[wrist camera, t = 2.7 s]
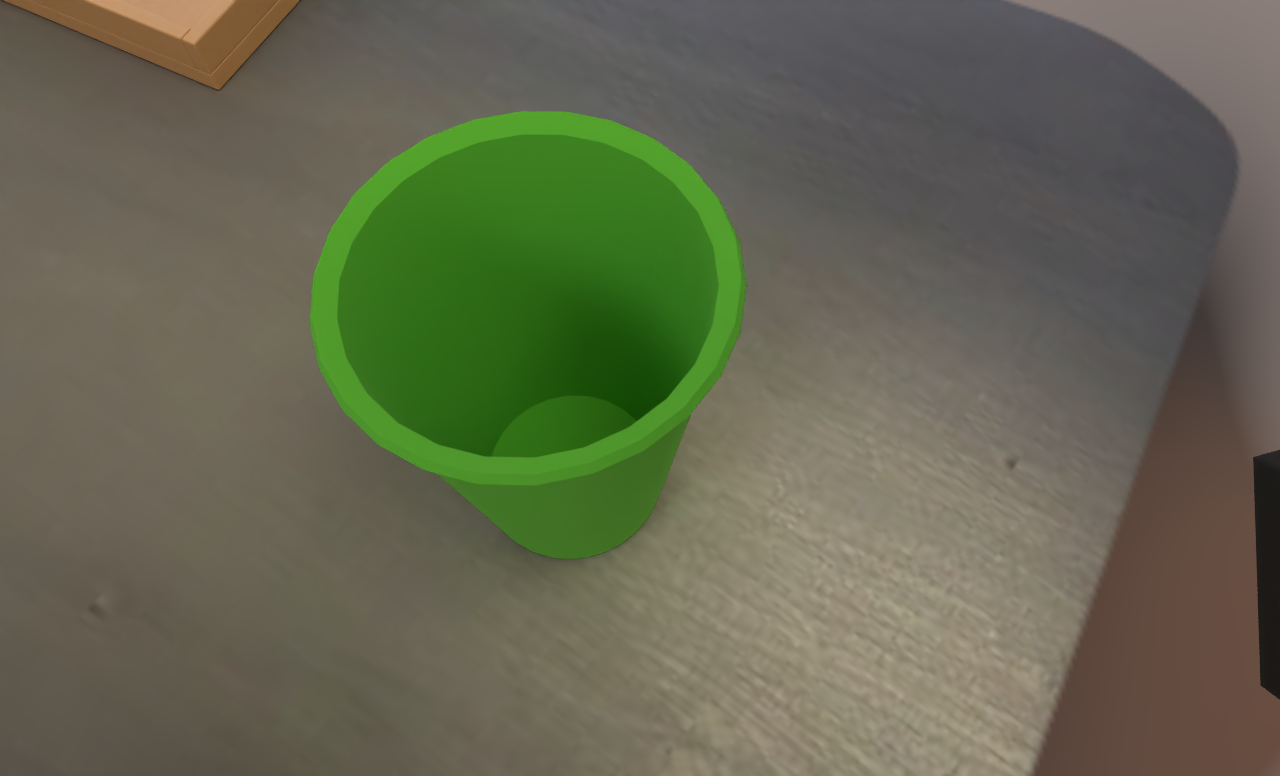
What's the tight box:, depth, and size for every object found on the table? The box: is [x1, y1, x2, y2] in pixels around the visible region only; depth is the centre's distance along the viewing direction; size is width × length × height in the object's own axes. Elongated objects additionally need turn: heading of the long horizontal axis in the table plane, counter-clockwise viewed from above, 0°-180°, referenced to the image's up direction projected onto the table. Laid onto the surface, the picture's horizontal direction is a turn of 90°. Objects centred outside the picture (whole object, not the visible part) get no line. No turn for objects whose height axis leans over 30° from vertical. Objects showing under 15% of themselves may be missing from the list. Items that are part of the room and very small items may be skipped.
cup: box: [309, 111, 747, 559], centre depth 27 cm, size 9×9×11 cm
